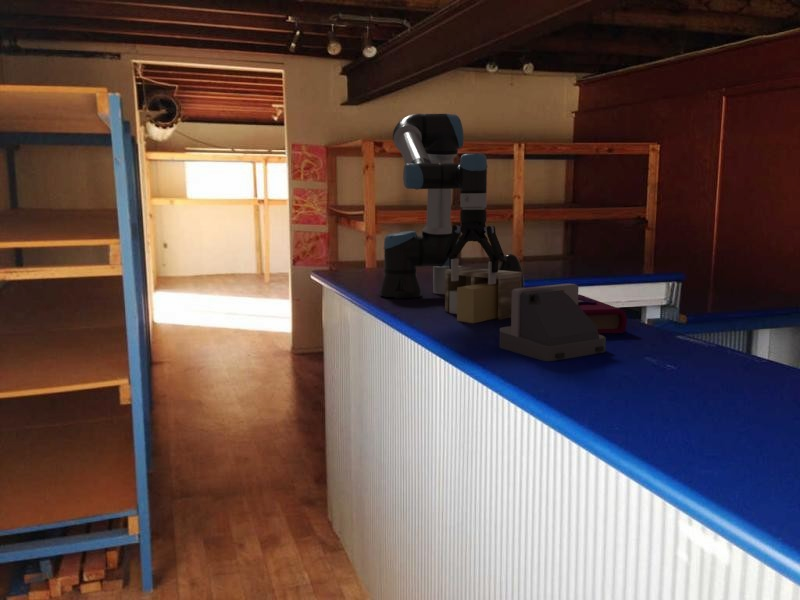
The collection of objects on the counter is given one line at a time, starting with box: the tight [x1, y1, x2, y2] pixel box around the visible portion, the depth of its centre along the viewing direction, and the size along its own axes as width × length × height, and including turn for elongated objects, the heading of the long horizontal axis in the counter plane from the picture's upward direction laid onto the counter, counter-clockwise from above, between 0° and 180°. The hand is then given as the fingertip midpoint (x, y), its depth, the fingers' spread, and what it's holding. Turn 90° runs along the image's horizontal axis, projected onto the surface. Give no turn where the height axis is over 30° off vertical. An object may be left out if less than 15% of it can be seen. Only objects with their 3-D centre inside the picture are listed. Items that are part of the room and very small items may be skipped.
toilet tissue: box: [432, 265, 470, 295], centre depth 259 cm, size 11×12×10 cm
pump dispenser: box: [498, 253, 525, 288], centre depth 249 cm, size 10×10×15 cm
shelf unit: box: [444, 266, 523, 320], centre depth 213 cm, size 22×10×13 cm, turn 46°
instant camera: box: [499, 283, 607, 362], centre depth 162 cm, size 21×21×15 cm
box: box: [448, 290, 457, 315], centre depth 215 cm, size 6×8×7 cm
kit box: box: [456, 282, 498, 324], centre depth 205 cm, size 6×18×10 cm, turn 137°
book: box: [578, 294, 628, 335], centre depth 193 cm, size 21×28×8 cm
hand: (473, 282), depth 200 cm, fingers open, 13 cm apart
